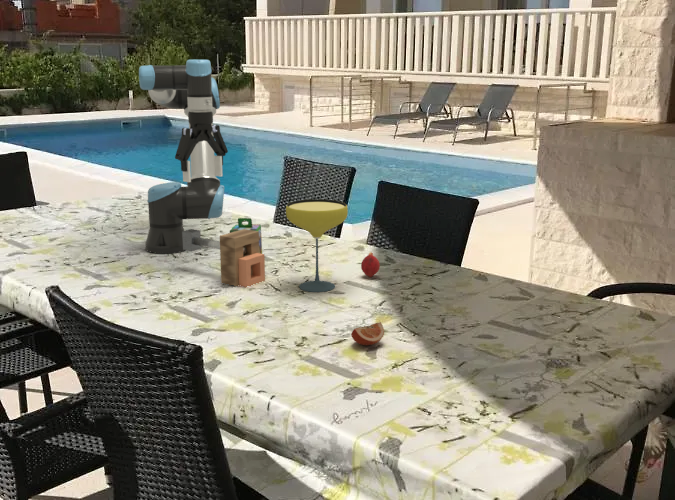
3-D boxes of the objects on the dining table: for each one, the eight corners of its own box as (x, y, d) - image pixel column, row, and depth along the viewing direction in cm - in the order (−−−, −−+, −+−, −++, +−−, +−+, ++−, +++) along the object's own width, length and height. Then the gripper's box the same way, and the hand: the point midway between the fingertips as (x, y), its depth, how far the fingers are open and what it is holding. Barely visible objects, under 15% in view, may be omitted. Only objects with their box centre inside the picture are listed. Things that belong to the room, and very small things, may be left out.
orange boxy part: (239, 286, 228) (238, 258, 226) (257, 279, 235) (256, 252, 233) (246, 287, 227) (246, 260, 225) (265, 280, 234) (264, 254, 231)
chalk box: (262, 257, 261) (261, 214, 257) (257, 264, 252) (256, 220, 248) (236, 256, 262) (235, 214, 258) (230, 263, 253) (228, 219, 249)
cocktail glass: (340, 297, 217) (341, 212, 211) (279, 293, 221) (278, 209, 214) (352, 280, 234) (352, 200, 228) (295, 276, 238) (294, 198, 232)
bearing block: (221, 283, 231) (219, 235, 227) (245, 274, 239) (243, 229, 236) (236, 286, 227) (234, 238, 224) (259, 278, 236) (258, 231, 232)
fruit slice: (372, 336, 188) (372, 317, 186) (390, 344, 183) (390, 325, 181) (345, 344, 183) (346, 324, 182) (363, 352, 178) (363, 332, 176)
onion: (377, 280, 234) (378, 255, 232) (359, 279, 235) (359, 254, 233) (380, 275, 240) (381, 250, 238) (362, 274, 241) (363, 249, 239)
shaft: (183, 249, 242) (182, 231, 241) (192, 247, 245) (191, 229, 244) (239, 261, 229) (239, 241, 228) (248, 258, 232) (248, 239, 231)
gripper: (177, 114, 223) (181, 185, 228) (237, 109, 242) (239, 175, 247) (160, 112, 227) (164, 182, 233) (220, 107, 246) (223, 172, 252)
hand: (203, 178), depth 240 cm, fingers open, 13 cm apart
